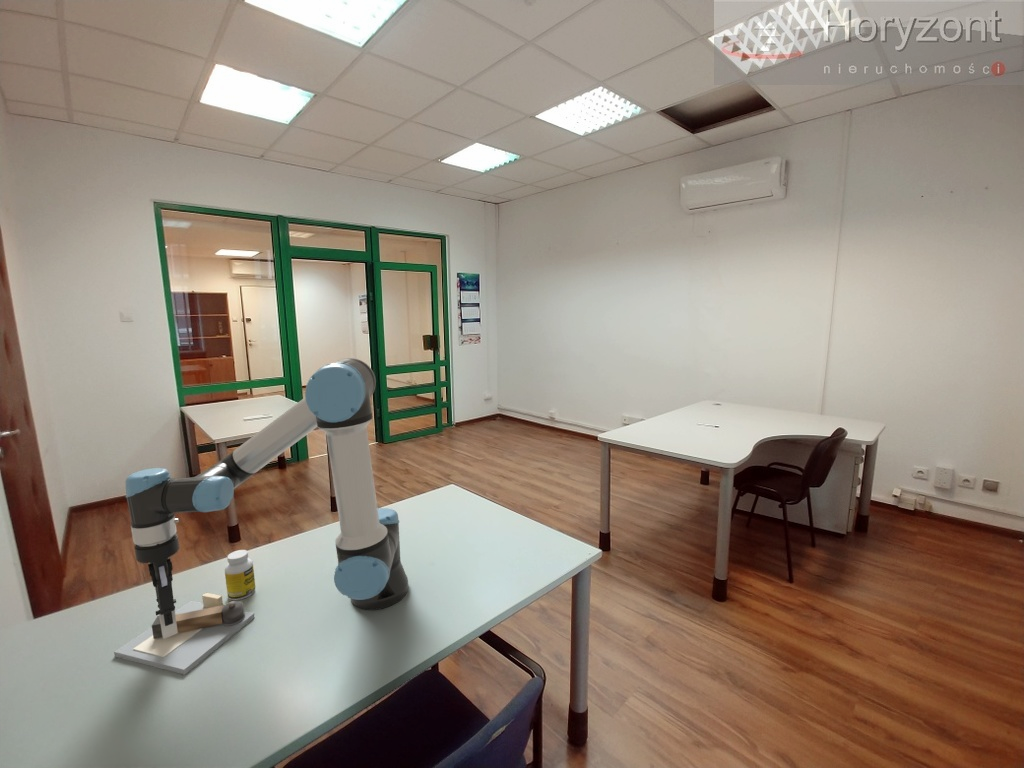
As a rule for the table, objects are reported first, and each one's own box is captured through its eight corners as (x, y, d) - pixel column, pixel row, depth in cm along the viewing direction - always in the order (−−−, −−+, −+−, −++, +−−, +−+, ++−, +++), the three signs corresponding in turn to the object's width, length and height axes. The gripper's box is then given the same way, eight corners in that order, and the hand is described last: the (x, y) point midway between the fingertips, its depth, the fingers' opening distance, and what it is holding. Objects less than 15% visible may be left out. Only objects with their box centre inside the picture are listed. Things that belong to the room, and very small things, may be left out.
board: (254, 617, 110) (252, 601, 109) (184, 674, 92) (182, 656, 92) (191, 604, 115) (189, 589, 114) (114, 656, 97) (111, 638, 97)
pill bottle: (242, 603, 115) (238, 562, 113) (221, 599, 117) (217, 559, 115) (261, 587, 122) (257, 549, 120) (241, 585, 123) (237, 546, 121)
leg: (245, 609, 110) (244, 595, 109) (241, 621, 106) (240, 606, 105) (160, 627, 104) (158, 612, 103) (152, 640, 100) (150, 624, 99)
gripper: (181, 543, 95) (194, 640, 99) (173, 523, 104) (185, 613, 108) (136, 556, 90) (152, 659, 93) (131, 534, 99) (146, 628, 103)
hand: (170, 634), depth 101 cm, fingers closed
